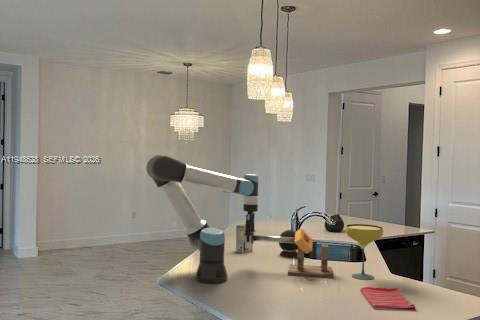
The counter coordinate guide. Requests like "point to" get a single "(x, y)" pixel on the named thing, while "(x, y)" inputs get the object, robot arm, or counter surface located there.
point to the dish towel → (386, 299)
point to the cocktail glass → (363, 241)
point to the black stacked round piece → (288, 245)
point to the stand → (311, 270)
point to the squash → (337, 226)
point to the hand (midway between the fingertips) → (249, 246)
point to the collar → (303, 241)
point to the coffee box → (241, 239)
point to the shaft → (271, 239)
